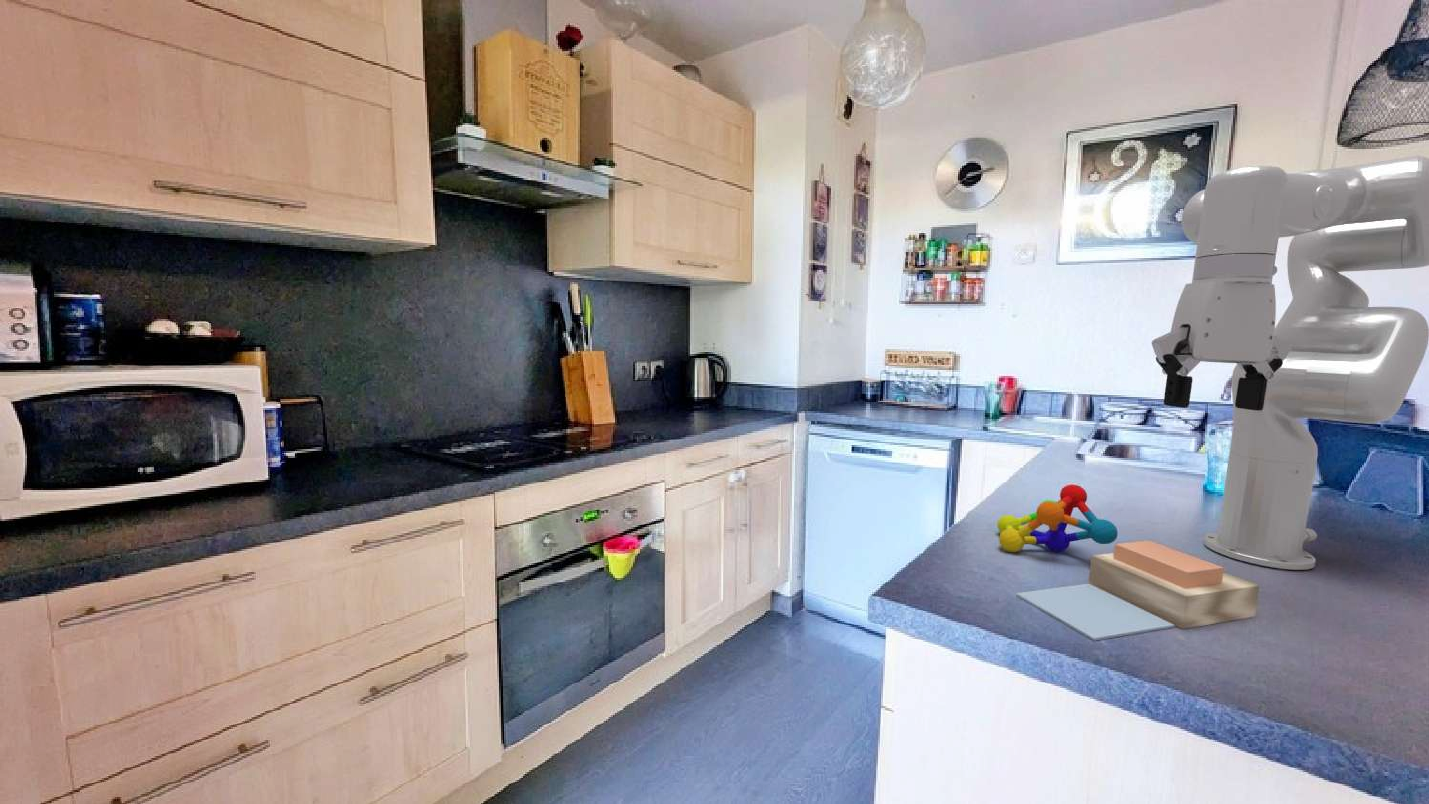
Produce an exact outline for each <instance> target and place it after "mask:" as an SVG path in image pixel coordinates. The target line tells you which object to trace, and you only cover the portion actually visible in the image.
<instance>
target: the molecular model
mask: <svg viewBox="0 0 1429 804" xmlns="http://www.w3.org/2000/svg"><path fill="white" fill-rule="evenodd" d="M1059 497H1060V499H1059V500H1057V501H1054V500H1051V499H1049V500H1048V499H1047V500H1044V501H1042V502H1041V503H1039V505H1038V506H1037V509H1036V512H1034V513H1030V514H1027V515H1025V516H1022V517H1019V518H1018V517H1015V516H1014V515H1010V514H1009V515H1007V514H1006V515H1005V514H1004V515H1003V516H1002V517H1000V518H999V519H998V521H997V523H996V524H997V530H998V531H999V533H1000V534H999V537H998V542H999V545H1000V546H1001V548H1003V550H1005V551H1007V552H1010V553H1016V552H1019V551H1021V550H1022V549H1023V548H1024V547H1025V545H1044V546H1045V547H1046V548H1047V549H1048V550H1050V551H1052V552H1055V553H1059V552H1064V551H1066V550H1067V549H1068V548H1069V547H1070V543H1071V542H1077V541H1082V540H1087V539H1088V540H1089V539H1091V540H1092V541H1094V543H1097V544H1100V545H1108V544H1111V543H1113V542H1115V541H1116V540H1117V538H1118V529H1117V527H1116V525H1115V524H1114V523H1113V522H1112V521H1110V520H1107V519H1103V518H1099V519H1098V518H1097V516H1096V515H1095V514H1094V512H1093V511H1092V510H1091V509H1090V507H1089V506H1087V504H1086V502H1087V499H1088V493H1087V491H1086V489H1084V488H1083V487H1082V486H1081V485H1078V484H1066V485H1065V486H1063V487H1062V489H1061V490H1060V492H1059ZM1075 508H1077V509H1078V510H1079V511H1080V512H1081V514H1082V516H1083V517H1085V519H1086V521H1085V520H1082V519H1079V518H1076V517H1074V516H1072V513H1073V511H1074V509H1075ZM1087 521H1088V522H1087ZM1042 525H1046V526H1048V530H1046V531H1045V532H1044V531H1039V530H1037V529H1038V528H1039V527H1041V526H1042ZM1068 525H1069V526H1072V527H1076V528H1079V529H1082V531H1081V530H1080V531H1077V532H1072V533H1067V532H1066V529H1067V527H1068Z"/></svg>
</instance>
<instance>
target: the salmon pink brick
mask: <svg viewBox="0 0 1429 804" xmlns="http://www.w3.org/2000/svg"><path fill="white" fill-rule="evenodd" d="M1113 553H1114V558H1113V559H1116V560H1118V561H1120V562H1123V563H1125V564H1128V565H1130V566H1132V567H1135V568H1137V569H1140V570H1142V571H1144V572H1147V573H1149V574H1151V575H1154V576H1156V577H1159V578H1161V579H1163V580H1166V581H1168V582H1171V583H1173V584H1175V585H1178V586H1180V587H1183V588H1185V589H1186V588H1193V587H1200V586H1207V585H1214V584H1221V583H1222V578H1223V572H1224V570H1225V567H1224V566H1220V565H1217V564H1215V563H1213V562H1209V561H1206V560H1203V559H1202V558H1198V557H1196V556H1193V555H1190V554H1187V553H1184V552H1181V551H1179V550H1176V549H1174V548H1172V547H1168V546H1166V545H1162V544H1160V543H1157V542H1154V541H1151V540H1142V541H1141V540H1140V541H1132V542H1125V543H1124V542H1122V543H1115V544H1114V551H1113Z"/></svg>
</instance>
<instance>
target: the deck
mask: <svg viewBox="0 0 1429 804" xmlns="http://www.w3.org/2000/svg"><path fill="white" fill-rule="evenodd" d="M1113 558H1114V552H1110V553H1103V554H1101V553H1100V554H1095V555H1092V554H1091V557H1090V567H1089V574H1088V575H1089V576H1088V582H1087V584H1091V585H1093V586H1095V587H1097V588H1099V589H1101V590H1103V591H1105V592H1107V593H1110V594H1112V595H1114V596H1116V597H1118V598H1120V599H1122V600H1124V601H1126V602H1128V603H1130V604H1132V605H1134V606H1136V607H1138V608H1141V609H1143V610H1145V611H1147V612H1149V613H1151V614H1153V615H1155V616H1157V617H1159V618H1161V619H1163V620H1165V621H1167V622H1169V623H1172V624H1174V627H1177V628H1179V629H1181V630H1183V629H1190V628H1196V627H1201V626H1208V625H1213V624H1218V623H1219V624H1220V623H1224V622H1225V623H1226V622H1233V621H1238V620H1243V619H1249V618H1255V617H1256V610H1257V604H1258V598H1259V591H1260V584H1256V583H1254V582H1251V581H1249V580H1246V579H1243V578H1241V577H1237V576H1235V575H1232V574H1229V573H1227V572H1224V571H1223V578H1222V583H1221V584H1214V585H1207V586H1200V587H1193V588H1186V589H1185V588H1183V587H1180V586H1178V585H1175V584H1173V583H1171V582H1168V581H1166V580H1163V579H1161V578H1159V577H1156V576H1154V575H1151V574H1149V573H1147V572H1144V571H1142V570H1140V569H1137V568H1135V567H1132V566H1130V565H1128V564H1125V563H1123V562H1120V561H1118V560H1116V559H1113Z"/></svg>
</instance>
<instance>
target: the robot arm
mask: <svg viewBox="0 0 1429 804" xmlns="http://www.w3.org/2000/svg"><path fill="white" fill-rule="evenodd" d="M1181 228H1182V232H1183V234H1184V236H1185V237H1186V239H1188V240H1189V241H1190V242H1192V243H1194V244H1196V249H1195V251H1196V252H1195V256H1194V258H1195V259H1194V266H1193V271H1192V279H1191V280H1192V281H1191V283H1186V284H1184V287H1183V290H1182V292H1181V294H1180V297H1179V299H1178V301H1177V305H1176V308H1175V312H1174V316H1173V319H1172V323H1171V329H1170V331H1169V332H1167V333H1165V334H1163V335H1161V336H1159V337H1157V338H1154V339H1153V340H1152V341H1151V346H1152V349H1153V352H1154V354H1155V356H1156V357H1155V361H1156V363H1157V364H1158V365H1159V367H1161V369H1162V370H1161V372H1162V374H1163V375H1166V382H1165V388H1164V389H1165V390H1164V397H1163V405H1164V406H1168V407H1175V408H1181V409H1182V408H1183V409H1187V408H1188V407H1189V405H1190V400H1191V399H1190V398H1191V392H1192V385H1193V376H1192V375H1191V376H1189V374H1190V373H1191V372H1193V370H1194V369H1195V368H1196V367H1197V366H1198V365H1199V364H1200V363H1201V362H1204V363H1221V364H1222V363H1224V364H1225V363H1226V364H1236V365H1235V367H1234V368H1233V371H1232V375H1231V393H1232V394H1231V395H1232V407H1233V408H1232V410H1233V411H1232V413H1233V415H1232V416H1233V417H1232V418H1233V419H1232V431H1231V440H1230V441H1231V442H1230V447H1229V453H1228V454H1229V455H1228V461H1227V467H1226V475H1225V483H1224V489H1223V496H1222V505H1221V511H1220V517H1219V518H1220V519H1219V526H1218V532H1211V533H1207V534H1206V535H1205V536H1204V538H1203V544H1204V545H1205V546H1206V547H1207V548H1208V549H1210V550H1212V551H1214V552H1216V553H1218V554H1221V555H1223V556H1226V557H1228V558H1231V559H1235V560H1238V561H1242V562H1243V563H1249V564H1253V565H1258V566H1263V567H1268V568H1273V569H1281V570H1290V571H1291V570H1292V571H1293V570H1295V571H1303V570H1305V571H1307V570H1311V569H1313V568H1315V566H1316V561H1317V560H1316V557H1314V556H1313V555H1312V554H1311V553H1309V552H1307V551H1306V550H1304V549H1303V546H1304V543H1305V542H1311V541H1315V540H1316V539H1317V537H1318V534H1317V532H1316V531H1315V530H1314V529H1312V528H1307V522H1308V516H1309V511H1310V504H1311V497H1312V493H1313V492H1312V491H1313V486H1314V479H1315V473H1316V467H1317V463H1318V462H1317V461H1318V455H1319V453H1318V452H1319V451H1318V444H1317V443H1316V441H1315V438H1314V437H1313V435H1312V434H1311V433H1310V431H1309V430H1308V429H1307V428H1306V426H1305V425H1304V424H1303V423H1302V422H1301V421H1300V418H1301V419H1316V420H1326V421H1336V422H1345V423H1357V424H1379V423H1382V422H1383V423H1384V422H1386V421H1388V420H1390V419H1391V418H1393V417H1394V416H1395V415H1396V413H1397V412H1398V411H1399V409H1400V408H1401V406H1402V404H1403V402H1404V400H1405V399H1406V396H1407V395H1408V392H1409V390H1410V387H1411V385H1412V384H1413V382H1414V379H1415V377H1416V375H1417V373H1418V370H1419V368H1420V367H1421V364H1422V362H1423V359H1424V358H1425V355H1426V352H1427V348H1428V344H1429V324H1428V321H1427V320H1426V318H1425V316H1423V314H1422V313H1420V312H1419V311H1418V310H1415V309H1412V308H1409V307H1408V308H1407V307H1401V306H1369V303H1370V299H1369V296H1368V294H1367V293H1366V292H1365V291H1364V289H1363V288H1362V287H1361V286H1359V285H1358V284H1357V283H1356V282H1354V281H1353V280H1352V279H1350V278H1349V277H1347V276H1345V275H1344V274H1341V273H1343V272H1347V273H1348V272H1362V271H1363V272H1364V271H1365V272H1366V271H1380V270H1383V271H1385V270H1402V269H1403V270H1406V269H1416V268H1423V267H1428V266H1429V157H1426V156H1407V157H1403V158H1395V159H1390V160H1383V161H1377V162H1375V161H1374V162H1371V163H1369V162H1368V163H1365V164H1357V165H1349V166H1344V167H1343V166H1342V167H1337V168H1330V169H1329V168H1328V169H1317V170H1306V171H1301V172H1296V173H1287V172H1286V171H1285V170H1284V169H1283V168H1281V167H1278V166H1272V165H1254V166H1253V165H1251V166H1245V167H1238V168H1232V169H1229V170H1225V171H1222V172H1220V173H1217V174H1215V175H1214V176H1212V177H1211V178H1210V179H1209V180H1208V182H1207V183H1206V185H1205V189H1201V190H1200V191H1198V192H1197V193H1195V194H1194V195H1193V196H1191V198H1190V199H1189V200H1188V201H1187V203H1186V205H1185V206H1184V208H1183V211H1182V214H1181ZM1289 237H1292V239H1291V241H1290V243H1289V246H1288V248H1287V249H1288V250H1287V251H1288V252H1287V264H1286V266H1287V276H1288V277H1287V278H1288V283H1289V284H1288V285H1289V287H1290V288H1289V289H1290V292H1291V296H1292V299H1291V302H1290V303H1289V304H1288V307H1287V309H1286V310H1285V311H1284V312H1283V315H1282V316H1281V318H1280V320H1279V321H1278V323H1277V325H1276V320H1277V319H1276V316H1277V314H1276V313H1277V307H1276V306H1277V305H1276V303H1277V302H1276V301H1277V299H1276V289H1275V287H1276V286H1275V284H1273V278H1274V277H1273V276H1275V275H1276V274H1277V272H1278V267H1277V266H1276V265H1275V264H1276V258H1277V251H1278V245H1279V239H1281V238H1289Z"/></svg>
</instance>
